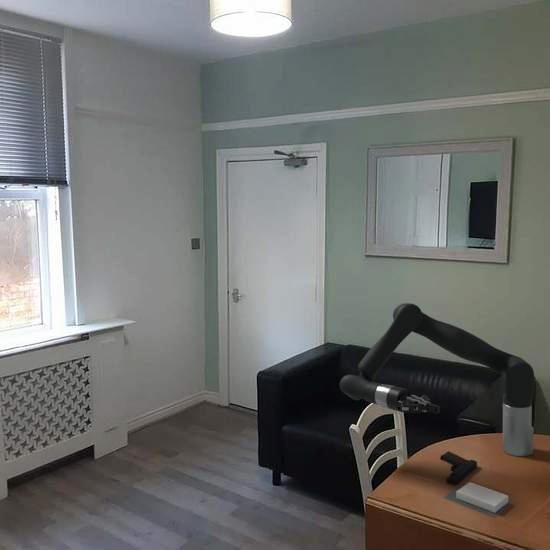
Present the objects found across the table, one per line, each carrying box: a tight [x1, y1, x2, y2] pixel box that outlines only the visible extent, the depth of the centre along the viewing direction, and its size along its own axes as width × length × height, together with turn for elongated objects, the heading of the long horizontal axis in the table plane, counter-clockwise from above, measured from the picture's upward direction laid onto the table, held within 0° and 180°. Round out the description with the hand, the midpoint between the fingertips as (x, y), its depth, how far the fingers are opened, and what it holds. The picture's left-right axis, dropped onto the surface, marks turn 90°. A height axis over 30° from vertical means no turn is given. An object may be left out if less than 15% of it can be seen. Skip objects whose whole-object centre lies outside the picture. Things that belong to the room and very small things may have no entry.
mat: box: [442, 483, 515, 518], centre depth 166 cm, size 16×12×1 cm
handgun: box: [439, 451, 478, 486], centre depth 185 cm, size 3×19×12 cm
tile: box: [456, 481, 509, 513], centre depth 165 cm, size 2×8×12 cm
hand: (438, 409), depth 173 cm, fingers closed
